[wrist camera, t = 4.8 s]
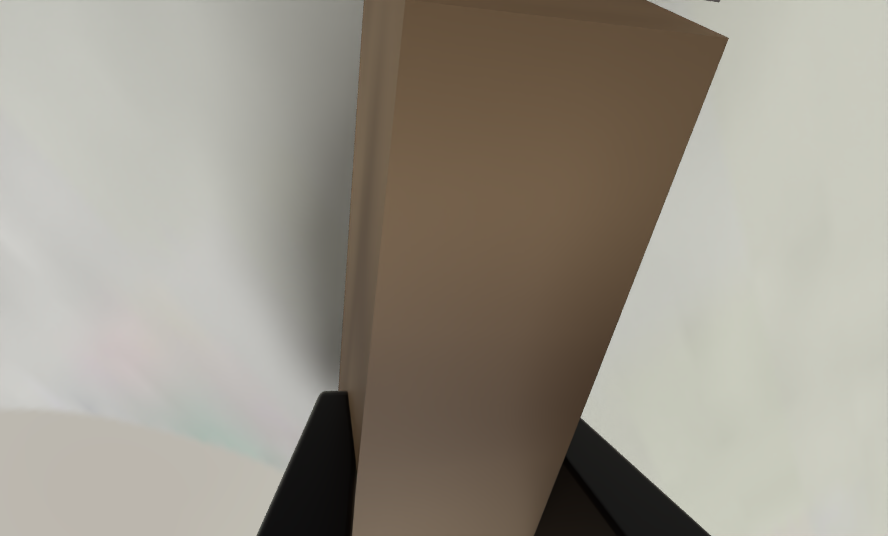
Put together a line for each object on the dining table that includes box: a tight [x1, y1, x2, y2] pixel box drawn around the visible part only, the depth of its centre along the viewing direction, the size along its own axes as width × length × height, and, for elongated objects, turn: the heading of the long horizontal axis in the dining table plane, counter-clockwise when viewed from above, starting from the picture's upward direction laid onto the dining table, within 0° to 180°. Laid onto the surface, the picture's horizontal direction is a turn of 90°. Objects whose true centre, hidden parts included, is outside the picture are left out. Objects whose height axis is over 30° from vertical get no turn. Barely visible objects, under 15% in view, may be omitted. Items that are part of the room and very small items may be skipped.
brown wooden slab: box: [338, 0, 729, 536], centre depth 7 cm, size 13×5×3 cm, turn 171°
